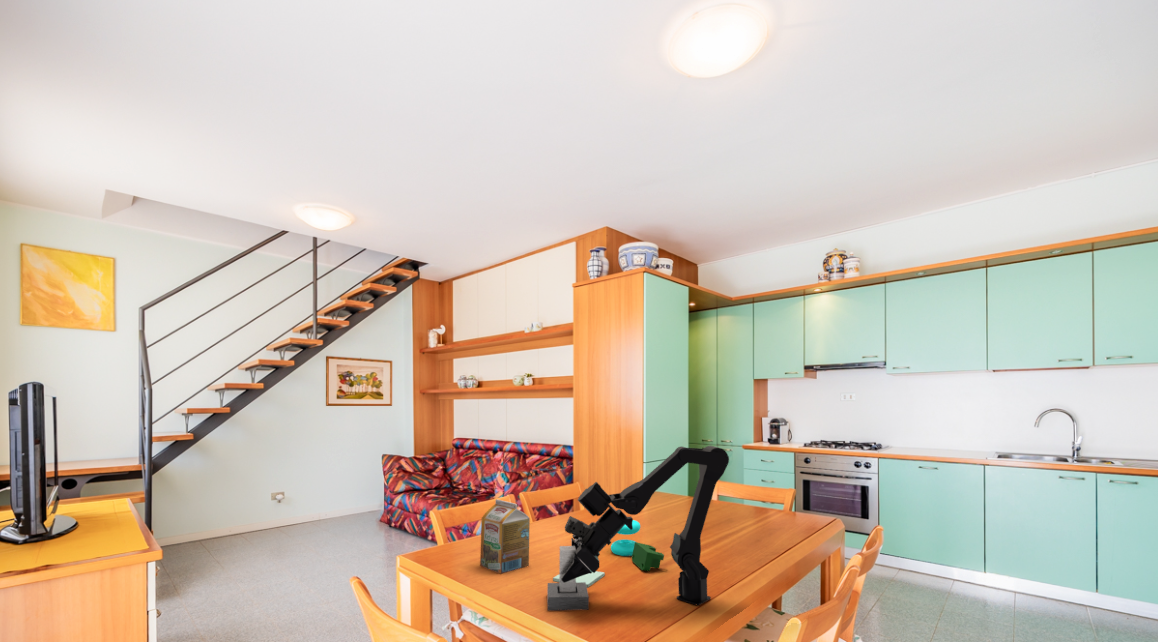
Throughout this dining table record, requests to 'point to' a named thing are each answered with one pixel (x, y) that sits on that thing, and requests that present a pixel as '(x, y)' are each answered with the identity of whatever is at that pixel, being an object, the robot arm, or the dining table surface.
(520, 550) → the milk carton
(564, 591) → the peg
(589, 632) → the dining table surface
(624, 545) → the donuts
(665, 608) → the dining table surface
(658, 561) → the clamp
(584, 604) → the socket block
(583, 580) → the pad
